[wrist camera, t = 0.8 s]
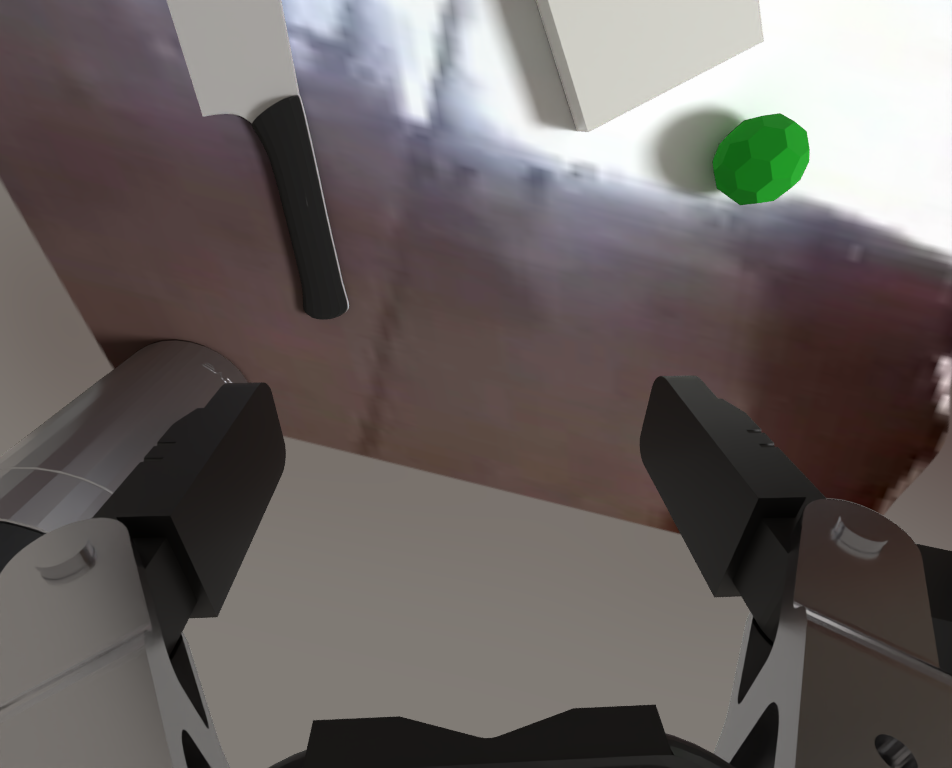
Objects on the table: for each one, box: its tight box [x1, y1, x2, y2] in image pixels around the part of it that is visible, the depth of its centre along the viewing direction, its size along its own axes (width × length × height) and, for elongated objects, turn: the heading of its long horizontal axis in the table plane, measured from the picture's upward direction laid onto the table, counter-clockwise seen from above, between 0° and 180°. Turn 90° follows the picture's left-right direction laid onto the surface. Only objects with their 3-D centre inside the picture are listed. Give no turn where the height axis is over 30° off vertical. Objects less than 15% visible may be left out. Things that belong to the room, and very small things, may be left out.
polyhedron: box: [713, 113, 810, 205], centre depth 28 cm, size 5×5×5 cm
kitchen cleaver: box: [167, 0, 349, 319], centre depth 26 cm, size 31×2×10 cm
